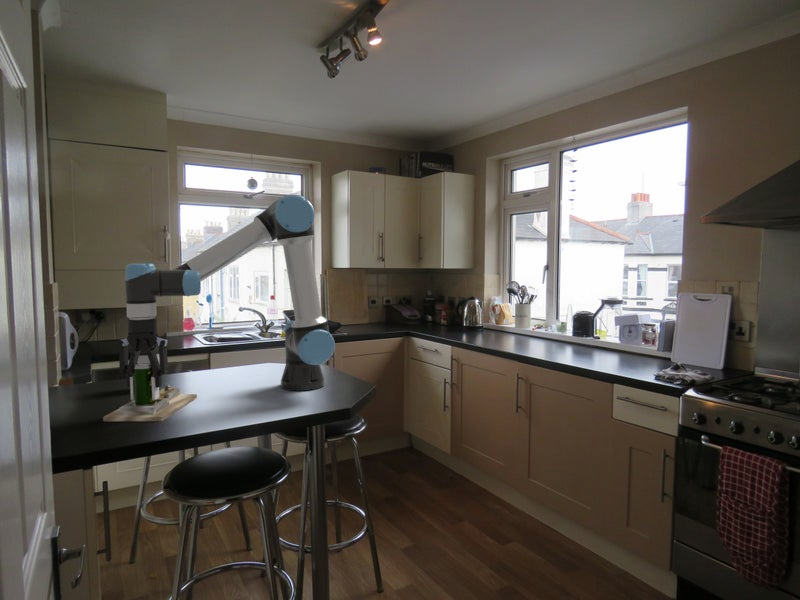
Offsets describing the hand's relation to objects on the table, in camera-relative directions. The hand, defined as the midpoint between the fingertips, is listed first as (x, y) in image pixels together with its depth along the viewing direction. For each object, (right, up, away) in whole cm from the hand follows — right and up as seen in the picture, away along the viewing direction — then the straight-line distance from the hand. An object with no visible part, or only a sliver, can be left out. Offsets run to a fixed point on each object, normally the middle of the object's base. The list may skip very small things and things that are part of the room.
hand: (145, 398), depth 145 cm
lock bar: (0, -2, +13) cm, 13 cm away
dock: (0, -4, +5) cm, 7 cm away
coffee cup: (-13, -3, +28) cm, 31 cm away
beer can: (0, -2, 0) cm, 2 cm away
